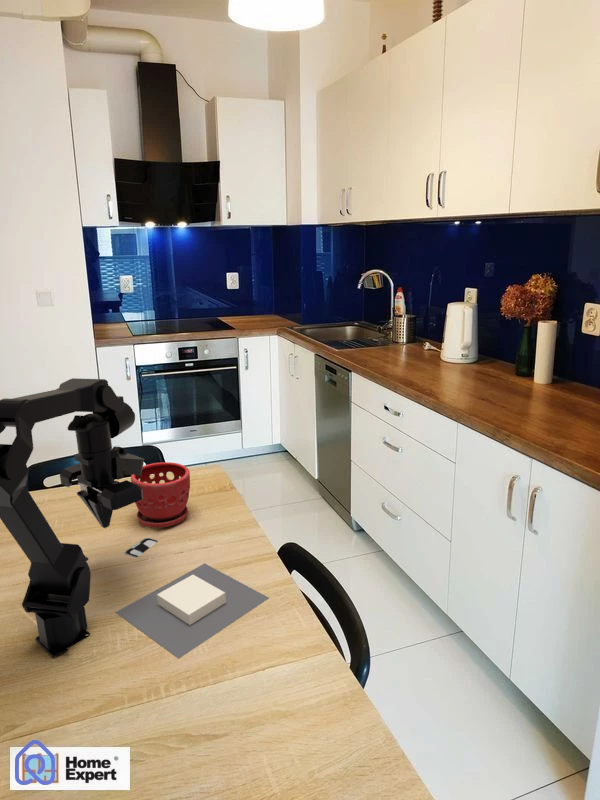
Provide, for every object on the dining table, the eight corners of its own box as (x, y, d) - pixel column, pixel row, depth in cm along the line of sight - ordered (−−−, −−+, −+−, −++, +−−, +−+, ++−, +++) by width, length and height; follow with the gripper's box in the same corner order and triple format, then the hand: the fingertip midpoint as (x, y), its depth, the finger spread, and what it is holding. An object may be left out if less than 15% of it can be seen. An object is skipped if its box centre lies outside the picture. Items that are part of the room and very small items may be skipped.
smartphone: (179, 572, 113) (122, 553, 120) (179, 576, 113) (122, 557, 120) (202, 554, 119) (147, 536, 126) (202, 558, 119) (147, 540, 126)
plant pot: (135, 536, 127) (129, 486, 124) (136, 510, 140) (131, 464, 136) (195, 528, 130) (190, 479, 127) (191, 503, 142) (187, 458, 139)
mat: (178, 661, 89) (178, 658, 89) (115, 615, 101) (115, 612, 101) (269, 600, 104) (269, 597, 103) (204, 566, 115) (204, 563, 115)
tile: (158, 605, 102) (189, 626, 96) (156, 594, 102) (188, 614, 96) (193, 584, 108) (226, 603, 102) (192, 574, 107) (225, 592, 102)
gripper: (164, 446, 102) (171, 525, 107) (107, 426, 114) (116, 498, 119) (107, 465, 94) (118, 550, 99) (53, 441, 106) (65, 518, 111)
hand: (105, 526), depth 107 cm, fingers closed
